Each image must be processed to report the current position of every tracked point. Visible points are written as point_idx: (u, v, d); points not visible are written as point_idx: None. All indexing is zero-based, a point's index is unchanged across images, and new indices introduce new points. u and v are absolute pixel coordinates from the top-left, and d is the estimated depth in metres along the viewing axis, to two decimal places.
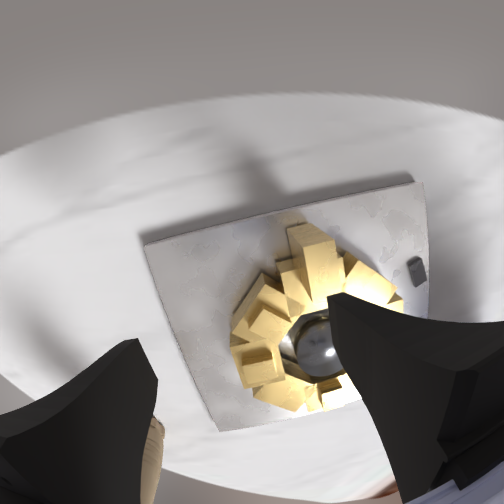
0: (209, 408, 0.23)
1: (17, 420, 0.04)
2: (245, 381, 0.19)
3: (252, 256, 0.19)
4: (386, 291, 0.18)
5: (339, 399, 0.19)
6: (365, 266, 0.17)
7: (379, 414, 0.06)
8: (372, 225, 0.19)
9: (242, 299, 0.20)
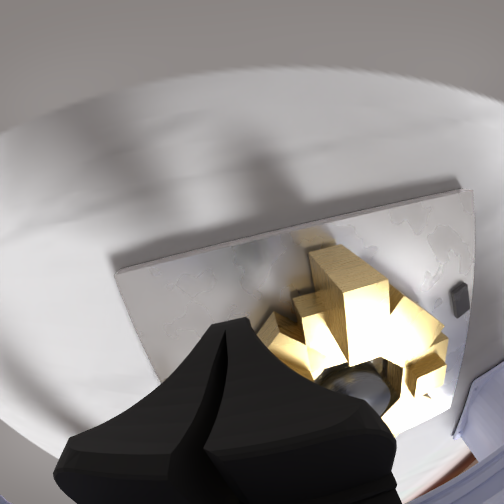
0: None
1: (142, 426, 0.04)
2: None
3: (260, 289, 0.14)
4: (431, 331, 0.13)
5: None
6: (411, 303, 0.12)
7: None
8: (416, 245, 0.14)
9: None
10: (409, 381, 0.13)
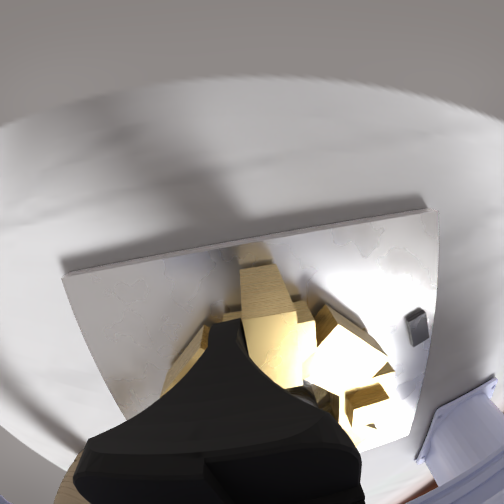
0: None
1: (166, 425, 0.04)
2: None
3: (191, 302, 0.14)
4: (373, 363, 0.13)
5: None
6: (347, 332, 0.12)
7: None
8: (364, 268, 0.14)
9: (180, 353, 0.14)
10: (348, 411, 0.13)
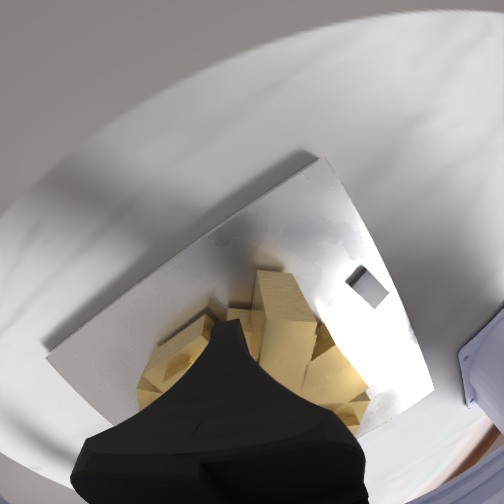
0: None
1: (162, 425, 0.04)
2: None
3: (132, 344, 0.14)
4: (354, 388, 0.13)
5: None
6: (341, 354, 0.12)
7: None
8: (264, 256, 0.13)
9: None
10: None
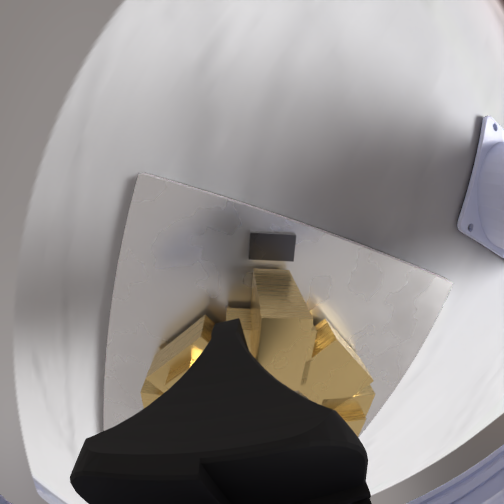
0: None
1: (163, 425, 0.04)
2: None
3: (138, 402, 0.16)
4: (358, 382, 0.13)
5: None
6: (343, 349, 0.12)
7: None
8: (158, 284, 0.14)
9: None
10: None
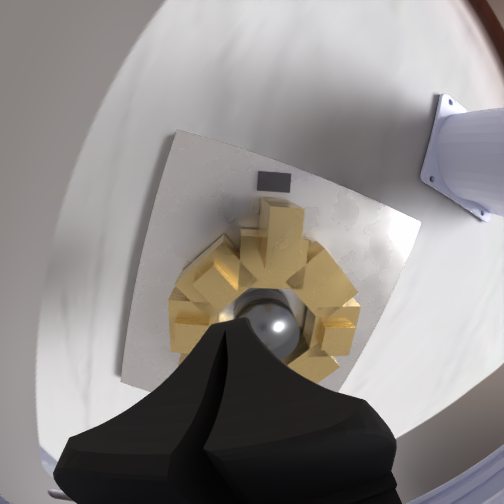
0: None
1: (142, 426, 0.04)
2: (174, 343, 0.18)
3: (159, 327, 0.20)
4: (345, 292, 0.18)
5: None
6: (330, 257, 0.17)
7: None
8: (187, 212, 0.18)
9: None
10: (319, 334, 0.18)
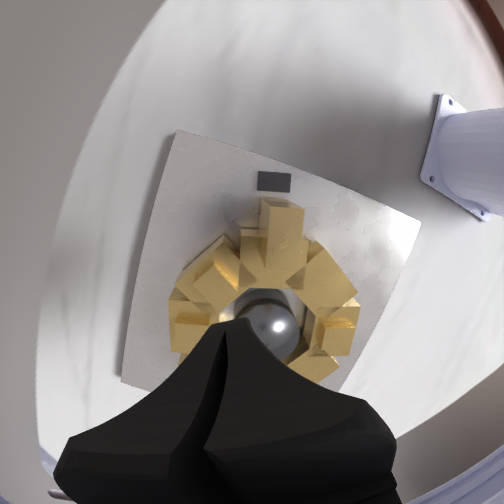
0: None
1: (142, 426, 0.04)
2: (174, 343, 0.18)
3: (159, 327, 0.20)
4: (345, 292, 0.18)
5: None
6: (330, 257, 0.17)
7: None
8: (187, 212, 0.18)
9: None
10: (319, 334, 0.18)
